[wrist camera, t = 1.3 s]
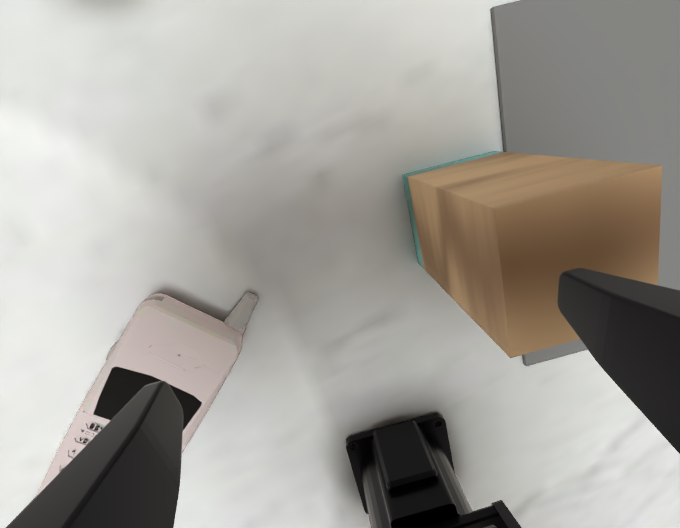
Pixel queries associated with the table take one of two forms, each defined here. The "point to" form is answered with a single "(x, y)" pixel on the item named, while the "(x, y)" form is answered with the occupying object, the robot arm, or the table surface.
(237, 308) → the mobile phone
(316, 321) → the table surface
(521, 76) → the charcoal mat
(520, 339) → the oak block
